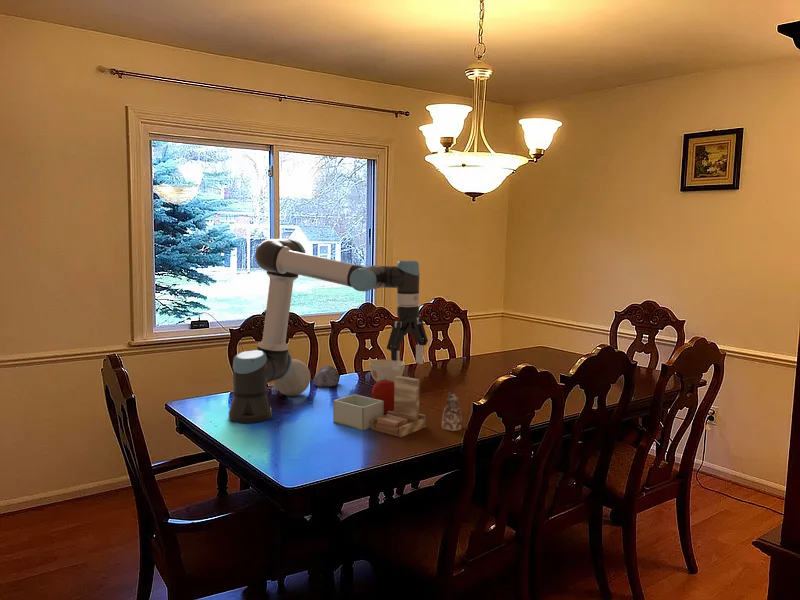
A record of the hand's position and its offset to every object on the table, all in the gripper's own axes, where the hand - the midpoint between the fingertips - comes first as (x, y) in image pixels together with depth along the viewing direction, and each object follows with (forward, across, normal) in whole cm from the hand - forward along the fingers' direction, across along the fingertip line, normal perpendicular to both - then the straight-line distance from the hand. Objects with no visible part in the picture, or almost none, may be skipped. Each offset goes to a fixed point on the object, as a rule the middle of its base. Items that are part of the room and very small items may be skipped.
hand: (407, 366), depth 215 cm
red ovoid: (+21, +6, +15) cm, 27 cm away
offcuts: (+20, -7, 0) cm, 21 cm away
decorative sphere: (+21, +1, +60) cm, 64 cm away
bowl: (+21, +39, +42) cm, 61 cm away
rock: (+21, +22, +62) cm, 69 cm away
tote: (+21, -9, +15) cm, 27 cm away
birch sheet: (+20, 0, 0) cm, 20 cm away
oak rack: (+21, -4, 0) cm, 21 cm away
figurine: (+21, +8, -13) cm, 26 cm away
